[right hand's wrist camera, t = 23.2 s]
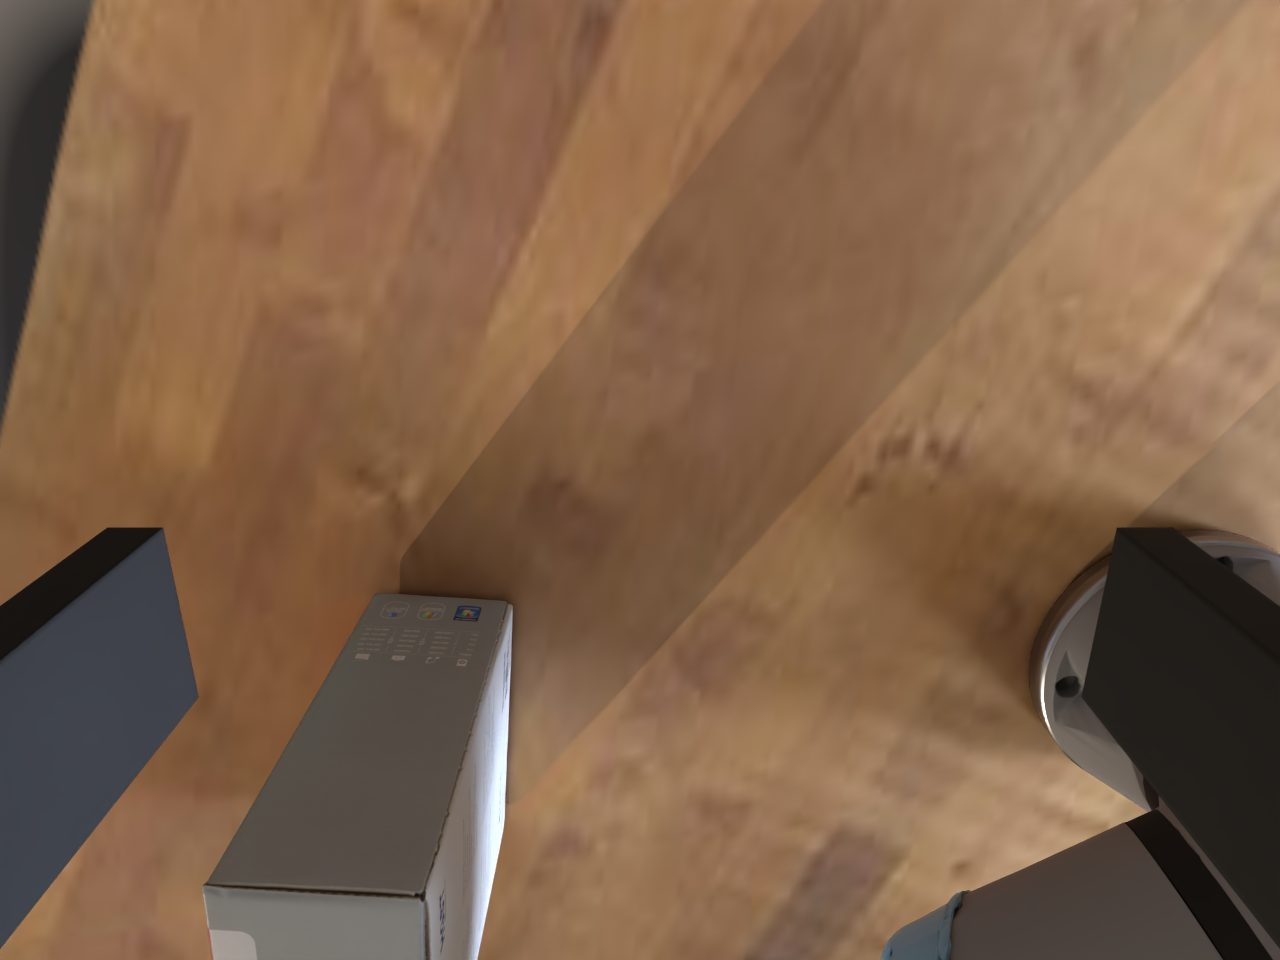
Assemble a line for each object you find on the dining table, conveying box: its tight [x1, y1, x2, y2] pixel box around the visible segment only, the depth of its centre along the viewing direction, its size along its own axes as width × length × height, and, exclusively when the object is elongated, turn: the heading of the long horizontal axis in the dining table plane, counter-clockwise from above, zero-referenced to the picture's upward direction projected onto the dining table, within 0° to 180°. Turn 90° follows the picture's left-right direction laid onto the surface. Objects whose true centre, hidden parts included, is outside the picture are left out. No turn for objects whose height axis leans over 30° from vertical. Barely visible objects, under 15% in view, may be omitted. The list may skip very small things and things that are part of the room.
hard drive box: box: [202, 593, 513, 960], centre depth 41 cm, size 16×8×20 cm, turn 176°
